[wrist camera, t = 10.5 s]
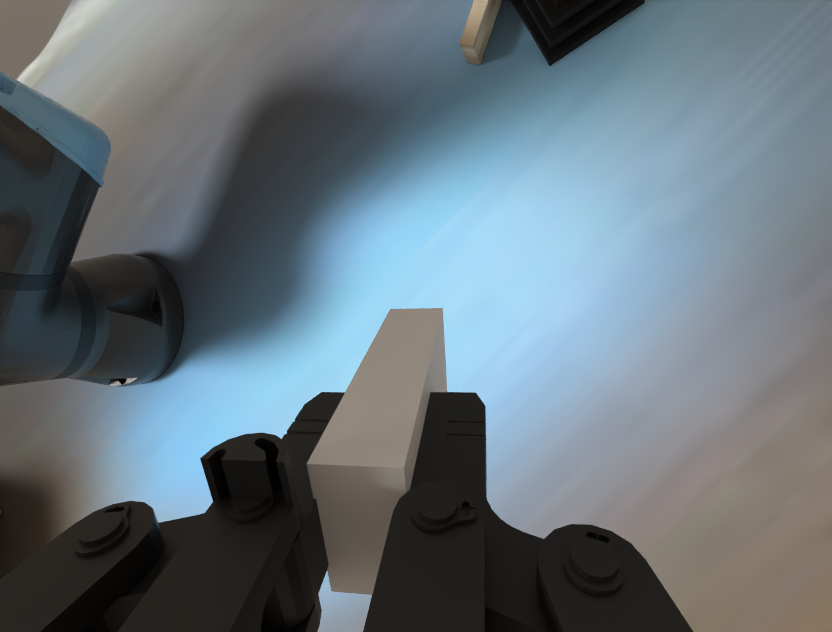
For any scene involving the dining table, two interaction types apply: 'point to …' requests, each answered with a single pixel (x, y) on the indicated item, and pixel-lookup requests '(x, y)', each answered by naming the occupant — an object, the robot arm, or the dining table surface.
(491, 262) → the dining table surface
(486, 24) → the centring cradle
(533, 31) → the chess piece
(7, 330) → the robot arm
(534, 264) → the dining table surface
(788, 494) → the dining table surface
